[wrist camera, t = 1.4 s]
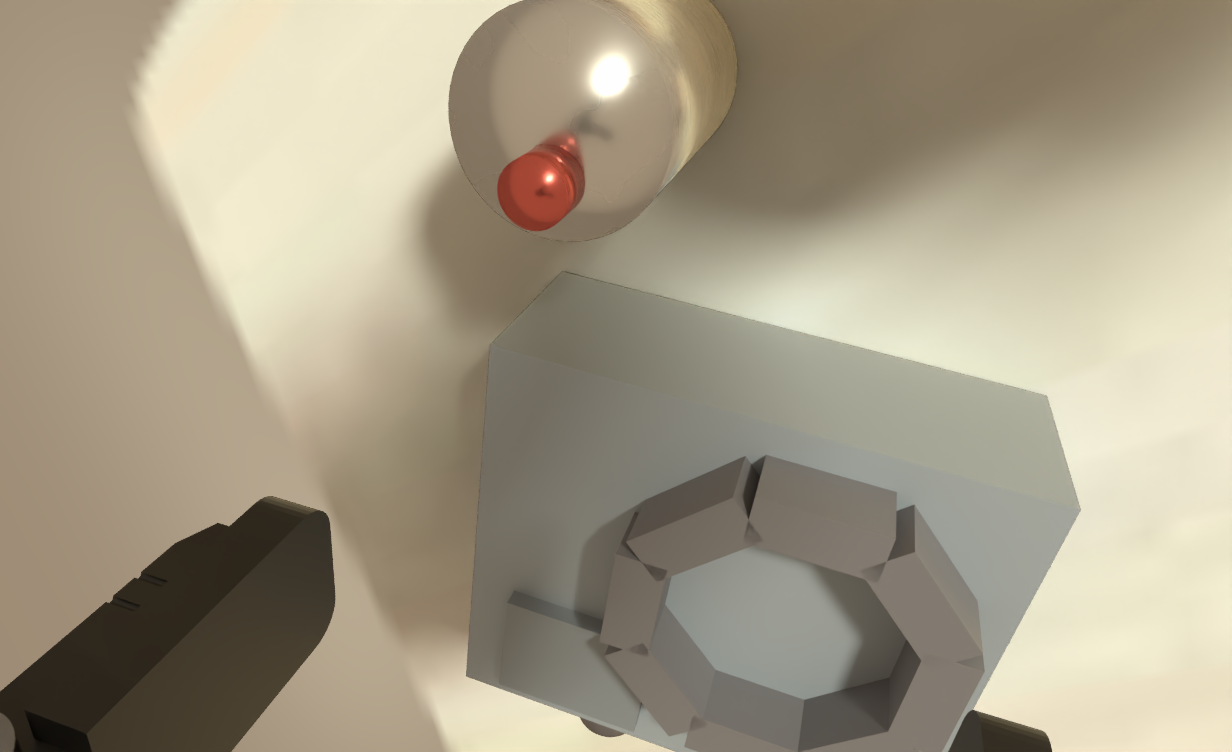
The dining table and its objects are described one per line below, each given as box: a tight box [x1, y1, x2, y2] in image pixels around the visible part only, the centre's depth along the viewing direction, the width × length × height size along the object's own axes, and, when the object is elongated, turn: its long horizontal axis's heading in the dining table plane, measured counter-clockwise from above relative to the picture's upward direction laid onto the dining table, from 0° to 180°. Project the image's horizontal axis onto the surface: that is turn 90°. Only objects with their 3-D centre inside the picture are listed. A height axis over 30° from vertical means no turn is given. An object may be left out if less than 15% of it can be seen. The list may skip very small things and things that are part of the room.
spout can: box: [448, 0, 737, 242], centre depth 21 cm, size 5×5×9 cm
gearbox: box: [466, 271, 1081, 752], centre depth 28 cm, size 17×16×8 cm
